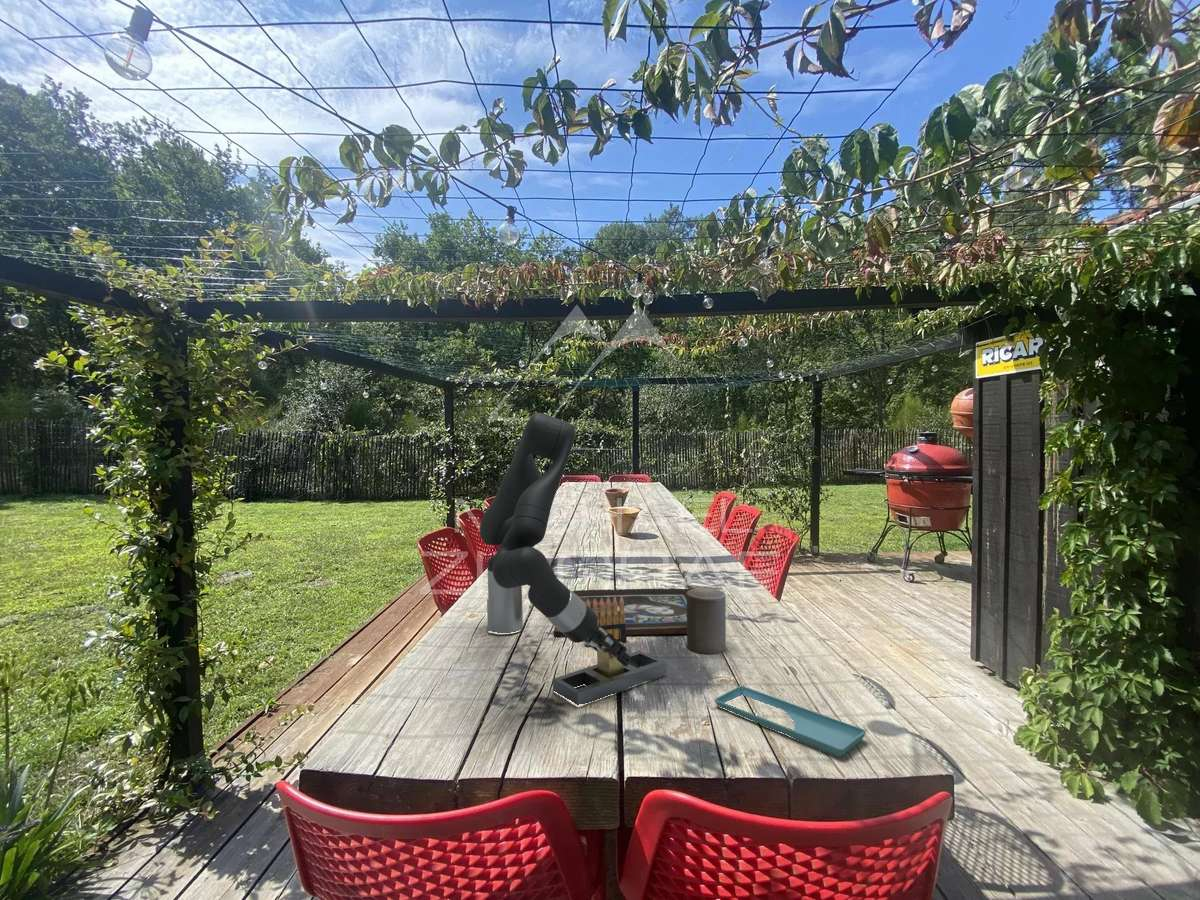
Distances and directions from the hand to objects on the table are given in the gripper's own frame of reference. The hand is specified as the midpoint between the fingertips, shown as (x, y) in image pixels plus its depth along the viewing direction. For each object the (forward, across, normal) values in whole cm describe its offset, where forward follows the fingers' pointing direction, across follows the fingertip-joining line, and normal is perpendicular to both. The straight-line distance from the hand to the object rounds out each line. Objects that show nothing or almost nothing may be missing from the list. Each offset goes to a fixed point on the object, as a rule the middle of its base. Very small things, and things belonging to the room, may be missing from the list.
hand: (615, 656), depth 127 cm
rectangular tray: (+14, -34, -4) cm, 37 cm away
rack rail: (+3, 0, +5) cm, 6 cm away
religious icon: (+29, +34, -20) cm, 49 cm away
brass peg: (+3, 0, +5) cm, 6 cm away
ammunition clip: (+13, +20, -5) cm, 24 cm away
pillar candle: (+26, +1, -17) cm, 31 cm away
